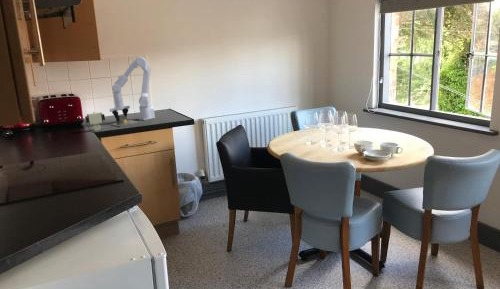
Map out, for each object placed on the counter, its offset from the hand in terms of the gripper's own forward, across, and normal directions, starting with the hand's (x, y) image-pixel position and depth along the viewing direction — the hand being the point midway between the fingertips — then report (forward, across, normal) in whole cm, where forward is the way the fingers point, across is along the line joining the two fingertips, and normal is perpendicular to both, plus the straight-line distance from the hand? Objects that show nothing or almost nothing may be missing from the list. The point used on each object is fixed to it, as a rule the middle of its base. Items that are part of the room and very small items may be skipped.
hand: (121, 120), depth 290 cm
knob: (+1, 0, 0) cm, 1 cm away
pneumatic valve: (+2, +23, +9) cm, 25 cm away
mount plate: (+1, +3, +10) cm, 11 cm away
